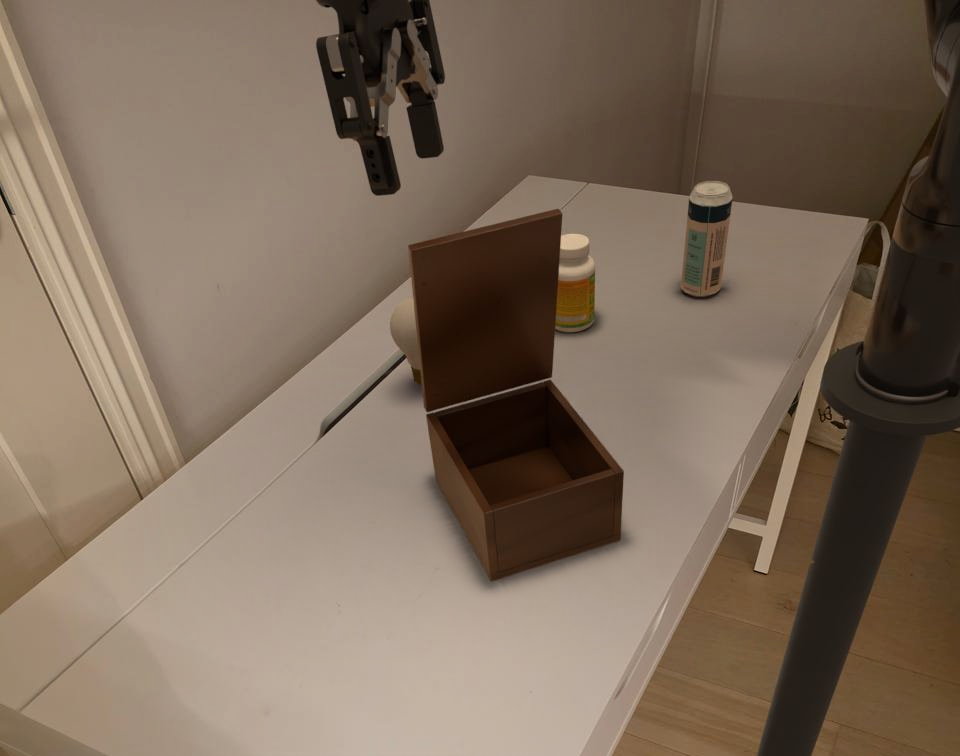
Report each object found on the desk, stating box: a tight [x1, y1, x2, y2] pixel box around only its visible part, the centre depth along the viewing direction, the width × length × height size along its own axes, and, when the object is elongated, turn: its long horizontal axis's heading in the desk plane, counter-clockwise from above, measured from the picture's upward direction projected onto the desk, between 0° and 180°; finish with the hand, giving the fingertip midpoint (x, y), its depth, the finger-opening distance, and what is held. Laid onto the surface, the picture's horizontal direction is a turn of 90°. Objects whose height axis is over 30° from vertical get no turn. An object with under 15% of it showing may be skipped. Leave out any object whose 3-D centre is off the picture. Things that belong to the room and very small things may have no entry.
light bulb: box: [389, 296, 422, 386], centre depth 95 cm, size 6×6×10 cm
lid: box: [407, 208, 563, 413], centre depth 75 cm, size 16×13×1 cm
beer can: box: [680, 180, 733, 298], centre depth 103 cm, size 5×5×12 cm
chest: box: [425, 379, 625, 582], centre depth 80 cm, size 16×13×8 cm
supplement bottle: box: [555, 233, 596, 333], centre depth 102 cm, size 5×5×10 cm
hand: (410, 174), depth 68 cm, fingers open, 8 cm apart
